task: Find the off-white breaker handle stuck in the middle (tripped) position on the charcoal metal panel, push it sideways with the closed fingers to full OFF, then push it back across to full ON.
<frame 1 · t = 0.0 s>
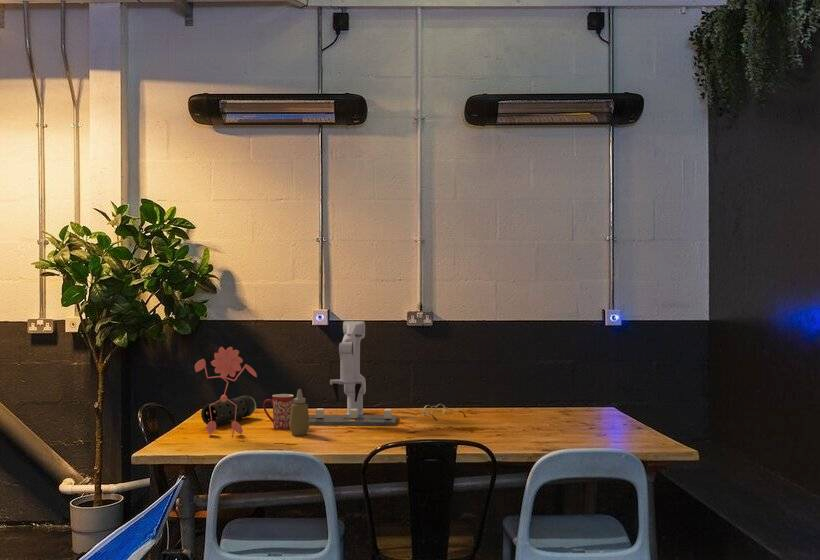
hand: (346, 401, 302), 10 cm above the table, fingers open, 7 cm apart
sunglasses: (442, 417, 324), on the table
mug: (278, 427, 296), on the table
breaker panel: (349, 421, 310), on the table
breaker 3: (387, 413, 309), point 4 cm above the table, slide at 6.0 cm
breaker 1: (320, 413, 310), point 4 cm above the table, slide at 6.0 cm
figurine: (226, 434, 281), on the table
muzzle brake: (230, 423, 308), on the table
squeeze bottle: (299, 435, 281), on the table
breaker tripped: (353, 413, 310), point 4 cm above the table, slide at 3.0 cm
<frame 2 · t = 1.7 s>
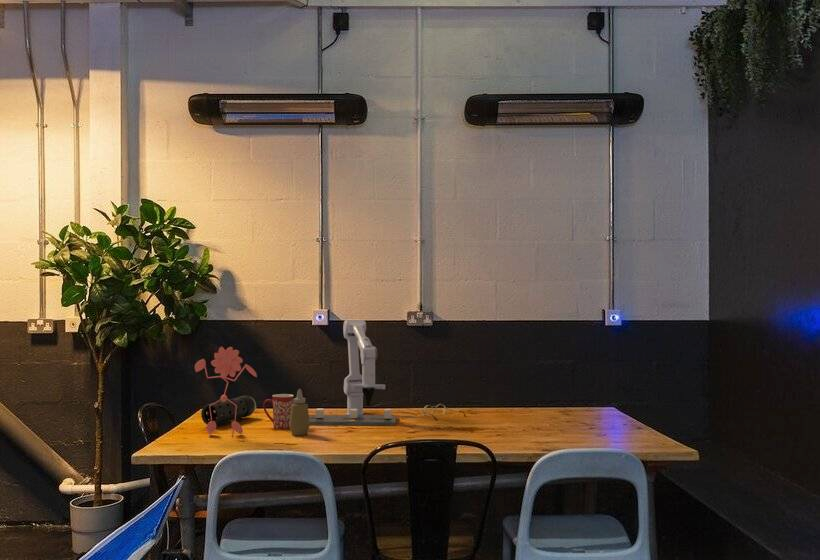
hand: (368, 405, 309), 7 cm above the table, fingers closed
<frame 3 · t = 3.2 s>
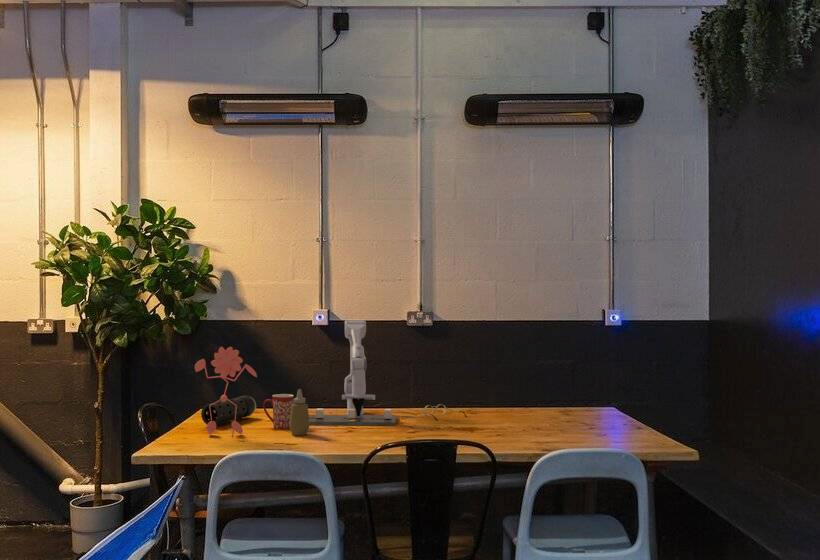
hand: (358, 415, 310), 3 cm above the table, fingers closed
breaker tripped: (351, 413, 310), point 4 cm above the table, slide at 2.1 cm, touching gripper
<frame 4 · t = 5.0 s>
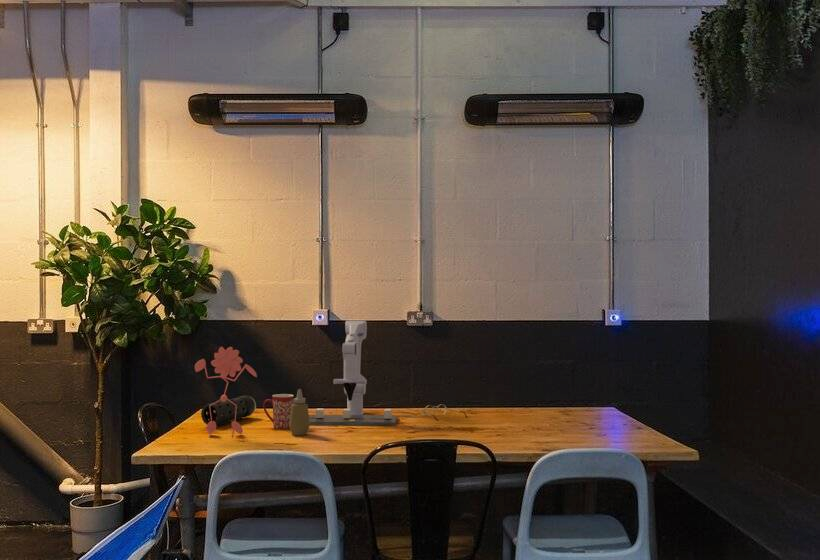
hand: (350, 400, 310), 9 cm above the table, fingers closed
breaker tripped: (346, 413, 310), point 4 cm above the table, slide at -0.1 cm
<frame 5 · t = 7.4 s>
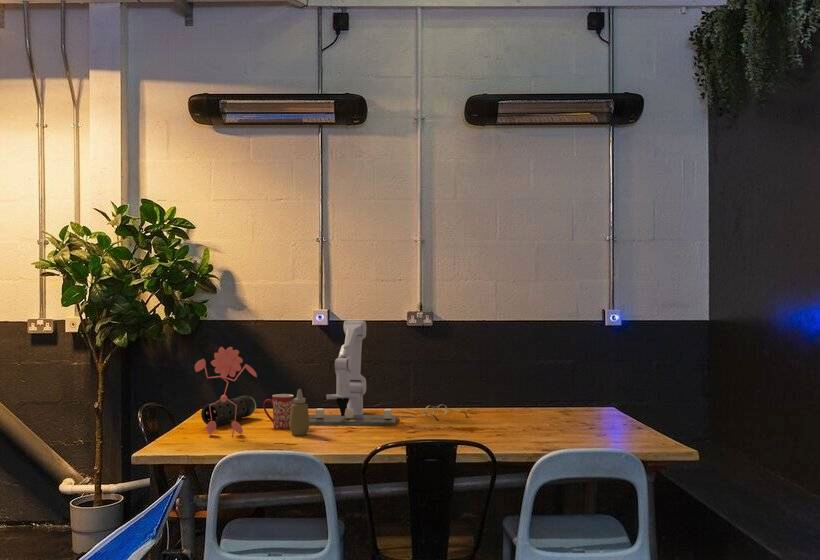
hand: (342, 415, 310), 3 cm above the table, fingers closed
breaker tripped: (349, 413, 310), point 4 cm above the table, slide at 1.1 cm, touching gripper
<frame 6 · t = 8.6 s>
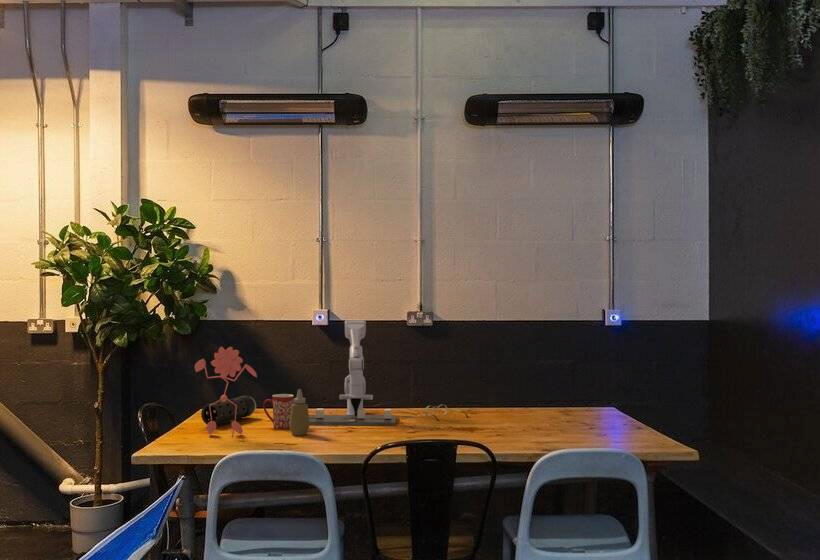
hand: (356, 415, 310), 3 cm above the table, fingers closed
breaker tripped: (361, 413, 310), point 4 cm above the table, slide at 6.4 cm, touching gripper
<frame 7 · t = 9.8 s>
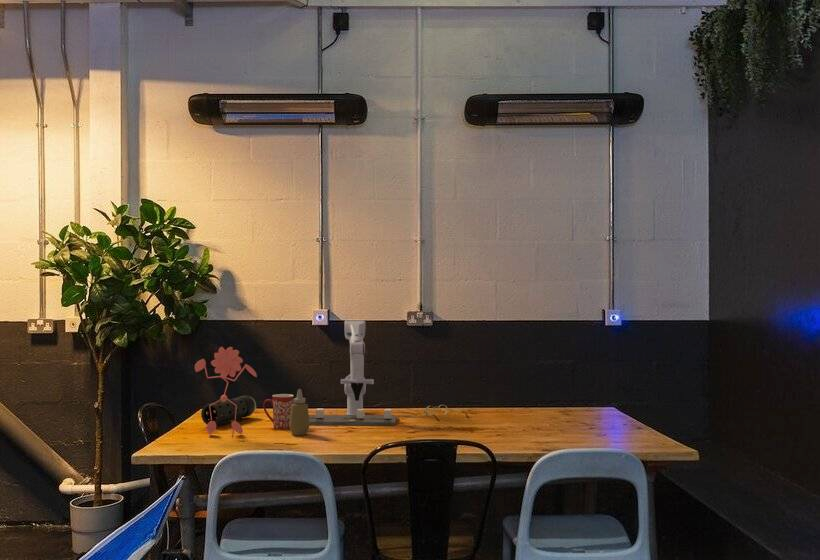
hand: (357, 400, 310), 9 cm above the table, fingers closed
breaker tripped: (360, 413, 310), point 4 cm above the table, slide at 6.1 cm
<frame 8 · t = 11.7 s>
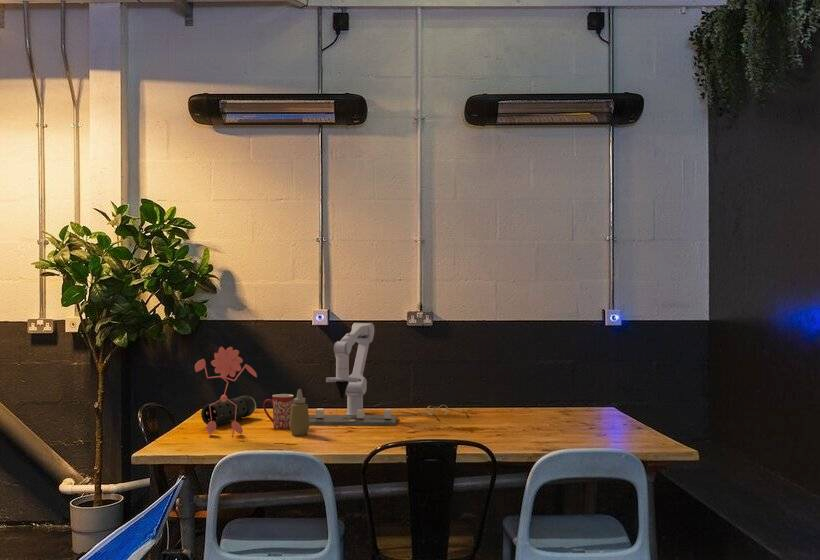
hand: (342, 398, 316), 9 cm above the table, fingers closed
at the end: breaker tripped slide at 6.1 cm; breaker 1 slide at 6.0 cm; breaker 3 slide at 6.0 cm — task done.
